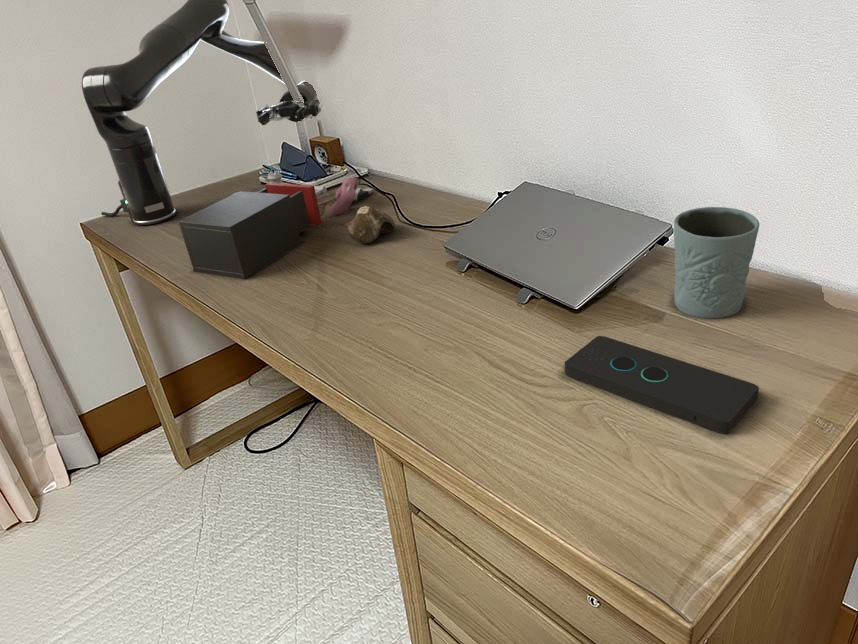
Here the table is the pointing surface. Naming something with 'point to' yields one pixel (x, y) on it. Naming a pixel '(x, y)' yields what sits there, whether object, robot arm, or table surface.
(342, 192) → the pink irregular lump
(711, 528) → the table surface
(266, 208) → the dark grey box
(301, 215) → the drawer
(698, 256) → the grey-green embossed cup
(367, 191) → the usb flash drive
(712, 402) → the smart home device
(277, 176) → the rook chess piece
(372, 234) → the fossilized seashell
